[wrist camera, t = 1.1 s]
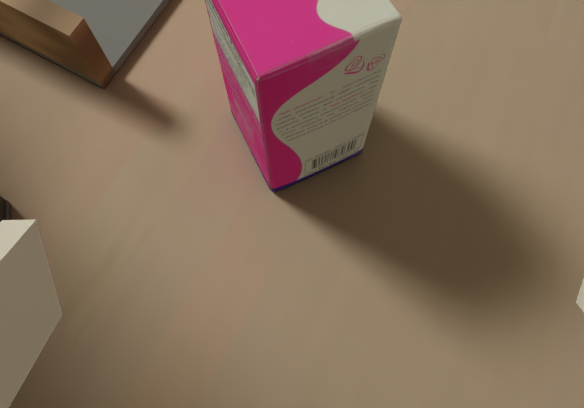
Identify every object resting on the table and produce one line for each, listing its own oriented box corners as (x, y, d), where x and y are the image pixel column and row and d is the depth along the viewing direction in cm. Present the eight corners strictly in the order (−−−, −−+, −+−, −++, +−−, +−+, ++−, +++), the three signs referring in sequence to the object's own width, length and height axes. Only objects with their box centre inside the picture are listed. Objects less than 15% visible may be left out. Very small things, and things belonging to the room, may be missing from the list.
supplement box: (317, 71, 30) (334, -97, 19) (364, 154, 29) (412, 23, 18) (227, 108, 29) (192, -45, 18) (270, 196, 28) (260, 86, 17)
